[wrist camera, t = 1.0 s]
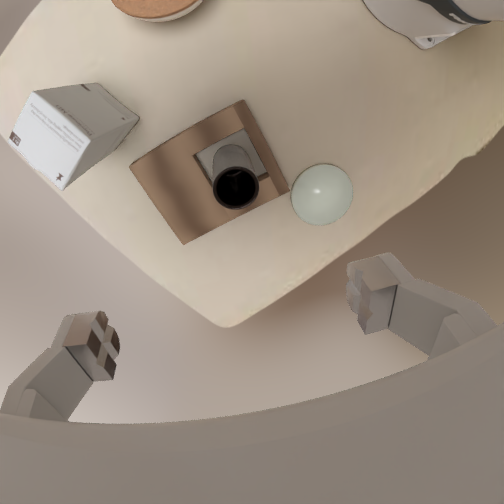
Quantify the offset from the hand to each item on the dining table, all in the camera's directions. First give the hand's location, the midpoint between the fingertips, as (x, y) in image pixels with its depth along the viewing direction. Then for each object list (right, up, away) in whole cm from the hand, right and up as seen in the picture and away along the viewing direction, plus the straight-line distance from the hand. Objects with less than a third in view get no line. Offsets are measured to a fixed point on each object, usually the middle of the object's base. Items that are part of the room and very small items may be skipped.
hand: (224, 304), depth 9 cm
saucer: (+11, +10, +32) cm, 35 cm away
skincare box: (-18, +19, +22) cm, 34 cm away
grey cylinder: (-2, +13, +28) cm, 31 cm away
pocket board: (-4, +12, +28) cm, 31 cm away
